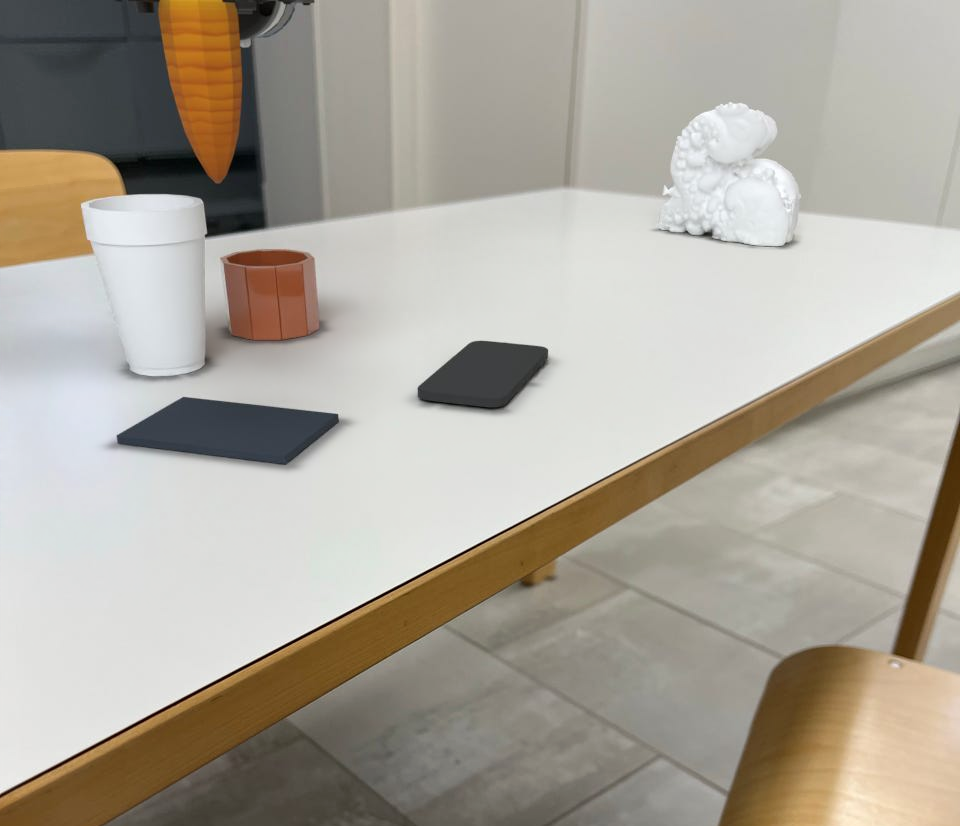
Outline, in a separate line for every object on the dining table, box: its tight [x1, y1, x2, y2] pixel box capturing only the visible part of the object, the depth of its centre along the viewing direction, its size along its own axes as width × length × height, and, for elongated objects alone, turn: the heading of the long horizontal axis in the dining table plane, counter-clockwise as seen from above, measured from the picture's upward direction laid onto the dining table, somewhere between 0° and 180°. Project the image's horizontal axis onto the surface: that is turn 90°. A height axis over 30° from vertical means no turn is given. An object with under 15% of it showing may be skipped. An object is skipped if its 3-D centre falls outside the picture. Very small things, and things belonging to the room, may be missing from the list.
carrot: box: [157, 0, 243, 184], centre depth 67 cm, size 5×5×15 cm
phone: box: [417, 340, 549, 408], centre depth 85 cm, size 7×1×15 cm
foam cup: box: [80, 193, 208, 377], centre depth 85 cm, size 10×9×13 cm
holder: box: [219, 248, 320, 341], centre depth 97 cm, size 8×9×6 cm
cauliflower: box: [657, 101, 802, 247], centre depth 139 cm, size 19×20×20 cm
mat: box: [116, 396, 340, 465], centre depth 74 cm, size 13×9×1 cm
